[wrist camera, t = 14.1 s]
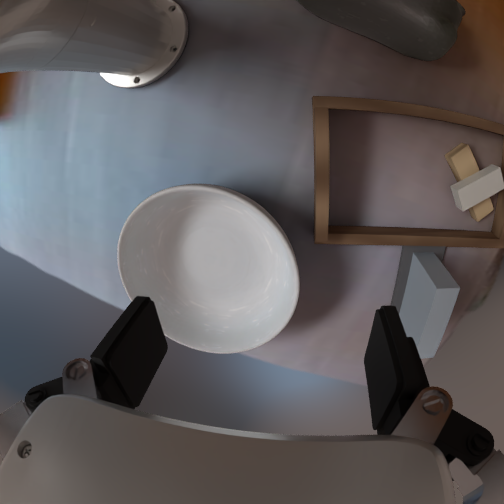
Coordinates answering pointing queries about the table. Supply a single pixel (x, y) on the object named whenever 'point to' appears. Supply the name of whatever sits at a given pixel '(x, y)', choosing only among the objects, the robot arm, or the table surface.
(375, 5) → the rock
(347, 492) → the robot arm
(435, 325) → the light grey block
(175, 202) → the serving bowl
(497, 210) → the wooden tray
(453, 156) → the offcut lower
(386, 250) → the table surface
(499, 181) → the offcut upper
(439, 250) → the mat
